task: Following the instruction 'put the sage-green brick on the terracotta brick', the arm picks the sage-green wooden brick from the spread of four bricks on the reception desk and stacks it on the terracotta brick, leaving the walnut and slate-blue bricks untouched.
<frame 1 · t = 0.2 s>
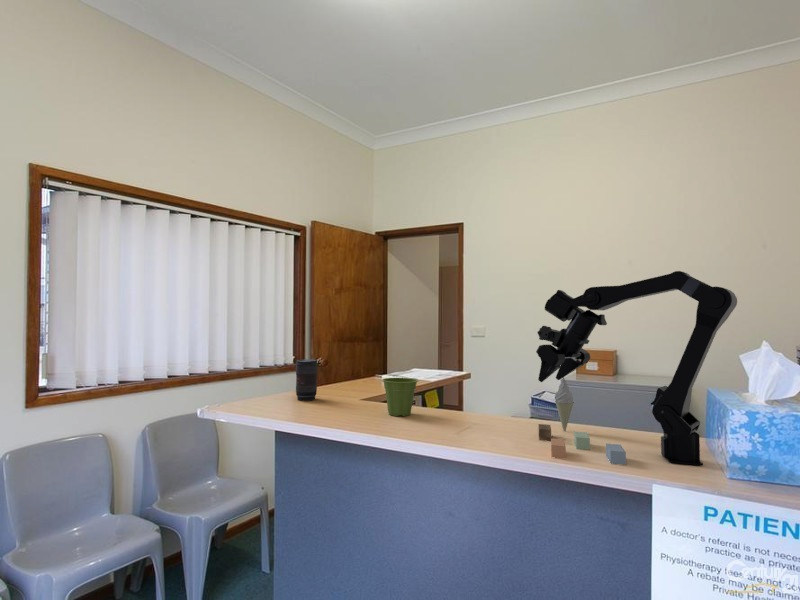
hand: (548, 380, 123), 15 cm above the table, tool tilted 30°, fingers open, 9 cm apart
walnut brick: (544, 438, 121), on the table
terracotta brick: (558, 455, 105), on the table
ice cream cone: (564, 431, 128), on the table
green brick: (581, 447, 112), on the table
slate brick: (615, 461, 101), on the table
plant pot: (399, 415, 149), on the table
camera lens: (306, 399, 176), on the table
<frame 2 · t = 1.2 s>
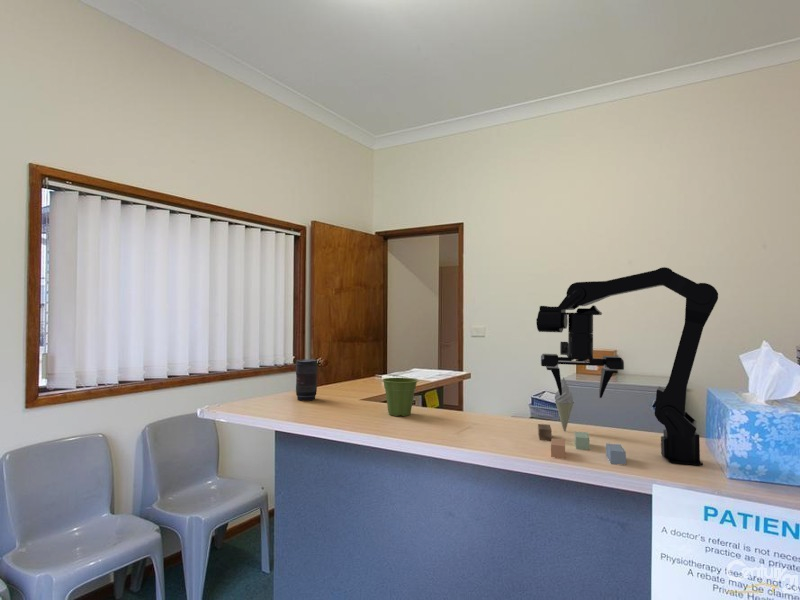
hand: (580, 396, 113), 12 cm above the table, tool pointing down, fingers open, 9 cm apart
nothing on the table moved.
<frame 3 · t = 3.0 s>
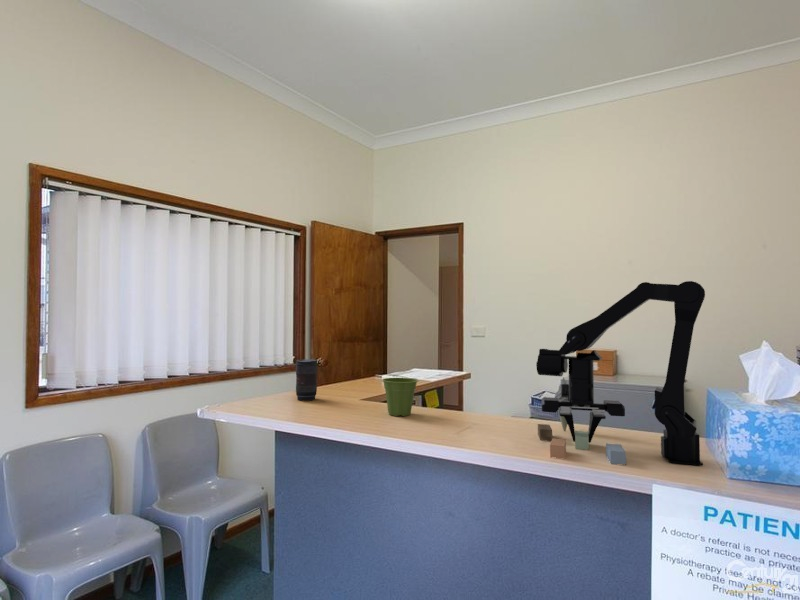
hand: (581, 441, 113), 1 cm above the table, tool pointing down, fingers closed on green brick, 3 cm apart
green brick: (581, 446, 112), on the table, touching gripper
everything else where it was.
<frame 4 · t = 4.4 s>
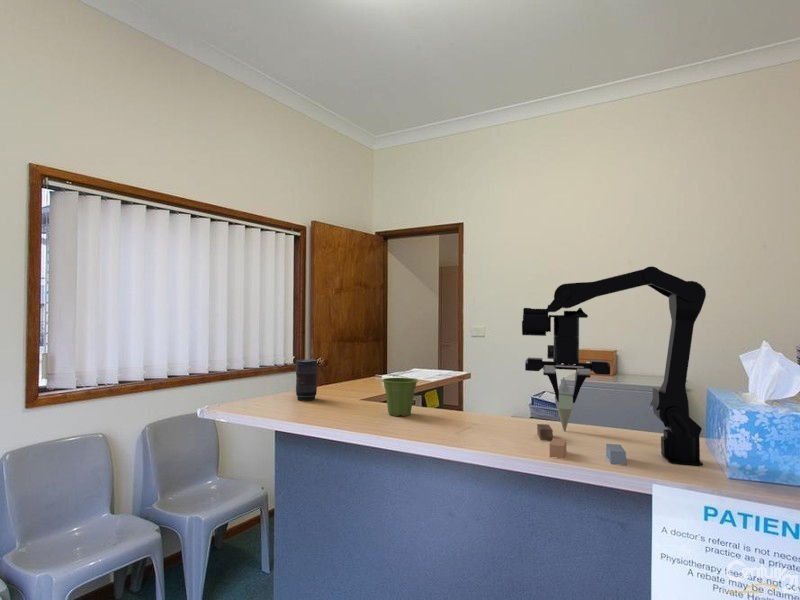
hand: (566, 402, 109), 11 cm above the table, tool pointing down, fingers closed on green brick, 3 cm apart
green brick: (566, 406, 109), point 10 cm above the table, touching gripper
everything else where it was.
when the fingers open (5 cm above the table, at t = 6.0 s): green brick stays where it is, resting on terracotta brick.
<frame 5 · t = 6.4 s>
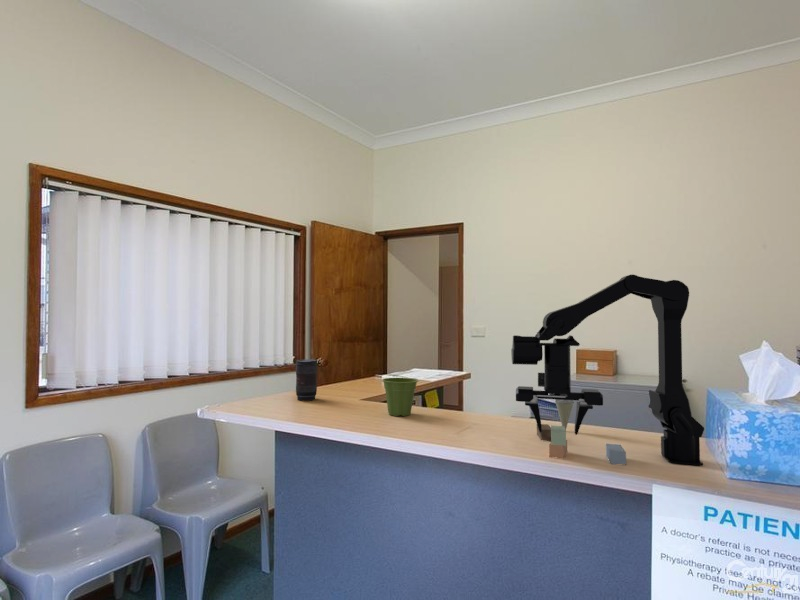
hand: (558, 433, 106), 5 cm above the table, tool pointing down, fingers open, 7 cm apart
terracotta brick: (558, 455, 105), on the table, touching green brick
green brick: (558, 441, 106), point 3 cm above the table, touching terracotta brick
everything else where it was.
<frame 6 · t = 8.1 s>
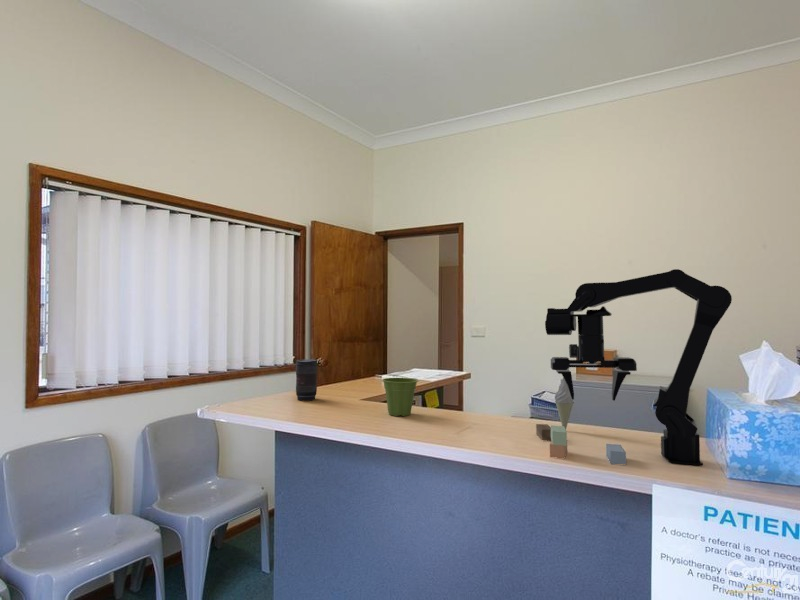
hand: (592, 399, 111), 12 cm above the table, tool pointing down, fingers open, 9 cm apart
nothing on the table moved.
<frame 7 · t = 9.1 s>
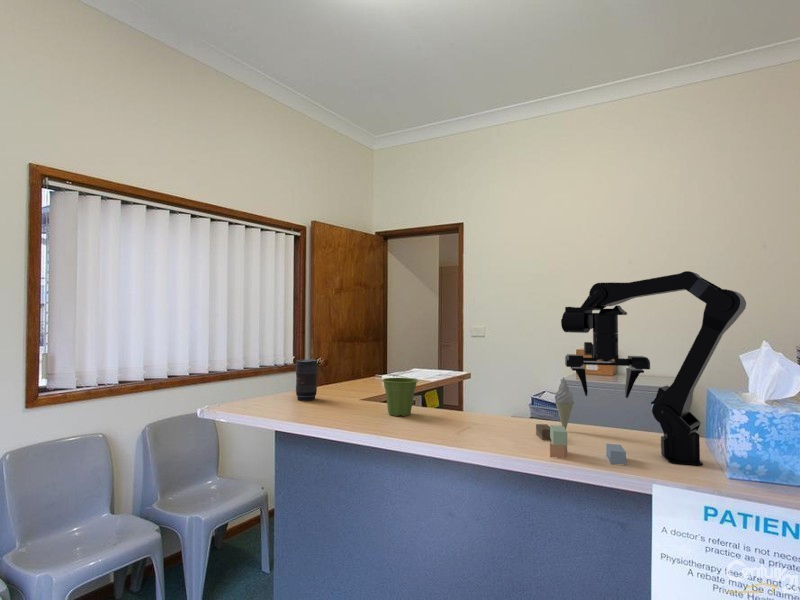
hand: (606, 396, 113), 12 cm above the table, tool pointing down, fingers open, 9 cm apart
nothing on the table moved.
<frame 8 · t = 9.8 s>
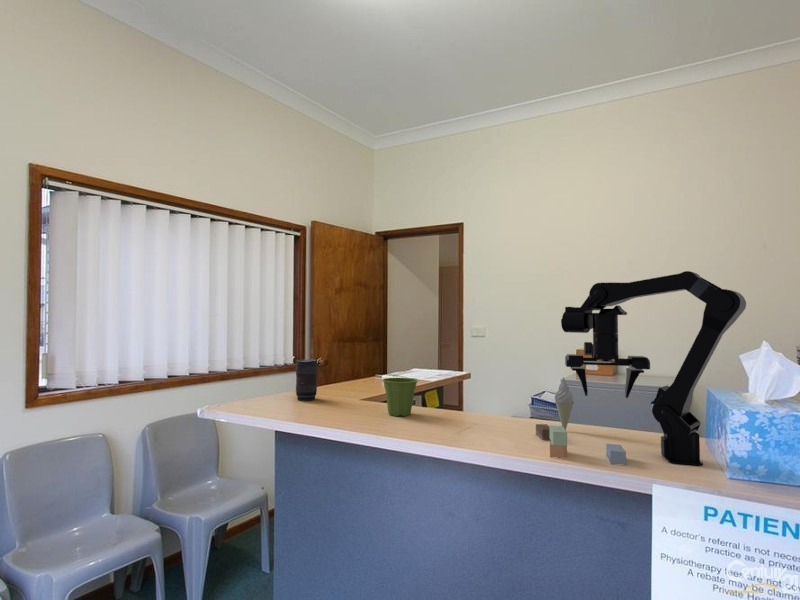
hand: (606, 396, 113), 12 cm above the table, tool pointing down, fingers open, 9 cm apart
nothing on the table moved.
at the end: green brick 0.1 cm off-centre on the terracotta brick, point 3.0 cm above the terracotta brick's base; walnut brick moved 0.2 cm from its start; slate brick moved 0.3 cm from its start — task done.
